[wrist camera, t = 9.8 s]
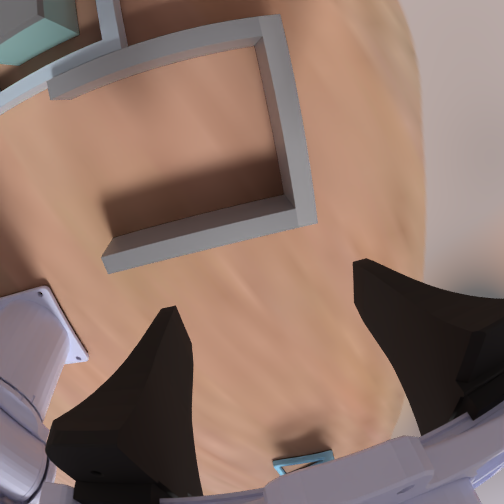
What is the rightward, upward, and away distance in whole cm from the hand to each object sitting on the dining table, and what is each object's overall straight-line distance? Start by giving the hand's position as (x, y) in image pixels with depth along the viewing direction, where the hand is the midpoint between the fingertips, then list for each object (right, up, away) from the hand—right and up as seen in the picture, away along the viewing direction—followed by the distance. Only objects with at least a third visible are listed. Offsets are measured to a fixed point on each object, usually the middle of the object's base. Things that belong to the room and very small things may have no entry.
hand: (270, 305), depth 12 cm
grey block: (-14, +17, +1) cm, 23 cm away
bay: (-5, +9, +6) cm, 12 cm away
